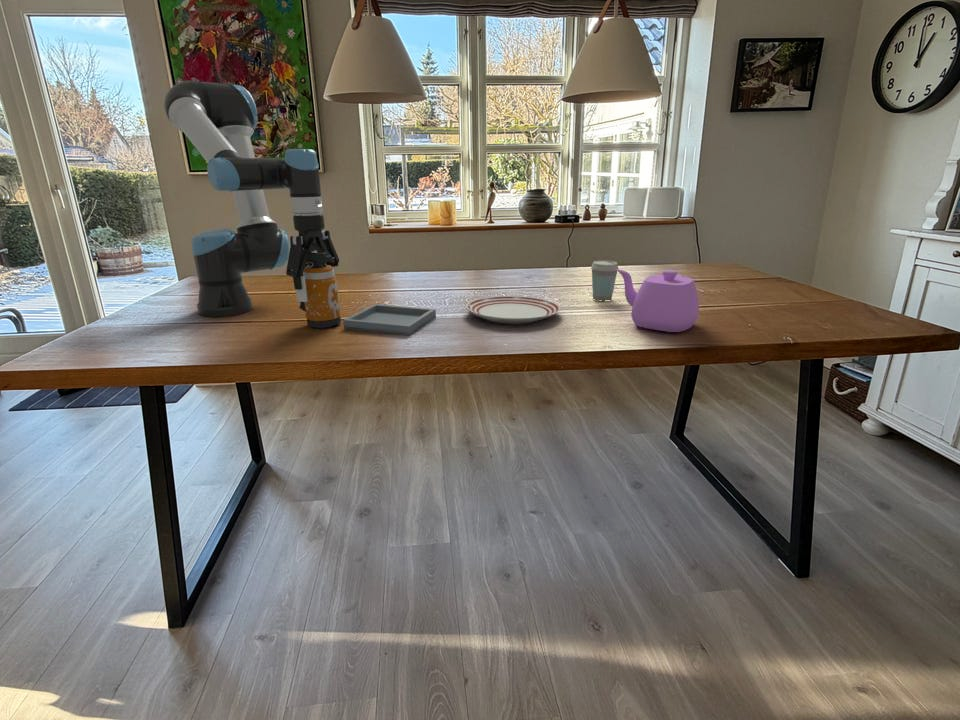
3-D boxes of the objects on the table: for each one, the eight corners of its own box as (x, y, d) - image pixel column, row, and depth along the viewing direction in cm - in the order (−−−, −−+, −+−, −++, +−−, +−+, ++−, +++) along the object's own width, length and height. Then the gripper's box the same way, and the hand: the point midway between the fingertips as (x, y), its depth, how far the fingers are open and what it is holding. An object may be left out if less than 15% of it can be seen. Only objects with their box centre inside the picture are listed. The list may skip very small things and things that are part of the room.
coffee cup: (614, 304, 163) (617, 265, 159) (586, 301, 166) (589, 264, 162) (616, 297, 171) (620, 260, 167) (590, 295, 173) (593, 259, 169)
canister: (332, 330, 139) (323, 254, 132) (294, 328, 141) (284, 253, 134) (346, 321, 147) (339, 249, 140) (310, 318, 149) (301, 248, 142)
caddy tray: (343, 328, 140) (343, 319, 139) (375, 312, 155) (375, 304, 154) (409, 335, 134) (409, 326, 133) (435, 317, 150) (435, 309, 149)
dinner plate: (490, 300, 169) (490, 290, 168) (571, 309, 158) (572, 299, 157) (448, 322, 146) (448, 310, 145) (540, 335, 135) (541, 323, 134)
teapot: (706, 320, 147) (714, 266, 141) (685, 339, 130) (694, 280, 125) (627, 308, 159) (632, 258, 154) (600, 324, 143) (604, 270, 137)
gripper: (289, 219, 121) (301, 307, 129) (347, 210, 143) (354, 286, 151) (262, 218, 123) (275, 305, 131) (323, 209, 146) (331, 284, 153)
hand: (317, 295), depth 141 cm, fingers open, 13 cm apart
